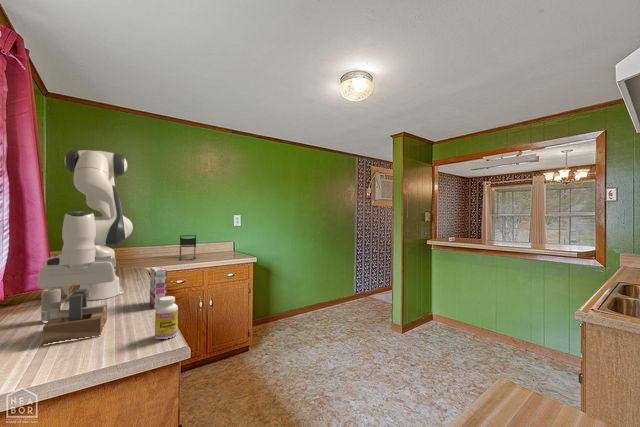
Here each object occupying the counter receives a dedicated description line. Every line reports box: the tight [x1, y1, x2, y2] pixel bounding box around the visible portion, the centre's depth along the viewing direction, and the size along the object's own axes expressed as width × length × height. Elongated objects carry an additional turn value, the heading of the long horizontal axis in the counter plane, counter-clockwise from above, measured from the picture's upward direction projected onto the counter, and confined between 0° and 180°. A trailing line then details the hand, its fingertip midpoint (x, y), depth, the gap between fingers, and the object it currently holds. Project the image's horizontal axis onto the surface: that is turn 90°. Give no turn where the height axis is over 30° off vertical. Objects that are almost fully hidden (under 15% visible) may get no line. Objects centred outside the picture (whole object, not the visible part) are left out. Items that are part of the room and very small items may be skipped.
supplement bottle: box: [154, 295, 179, 340], centre depth 94 cm, size 7×7×13 cm
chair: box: [179, 234, 197, 261], centre depth 249 cm, size 13×17×22 cm
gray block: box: [68, 288, 88, 321], centre depth 96 cm, size 10×3×8 cm, turn 31°
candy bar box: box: [149, 266, 168, 309], centre depth 125 cm, size 11×5×16 cm, turn 40°
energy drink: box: [40, 287, 62, 322], centre depth 105 cm, size 5×5×12 cm
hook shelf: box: [42, 302, 108, 345], centre depth 96 cm, size 16×14×11 cm
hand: (78, 297), depth 96 cm, fingers closed on gray block, 3 cm apart
